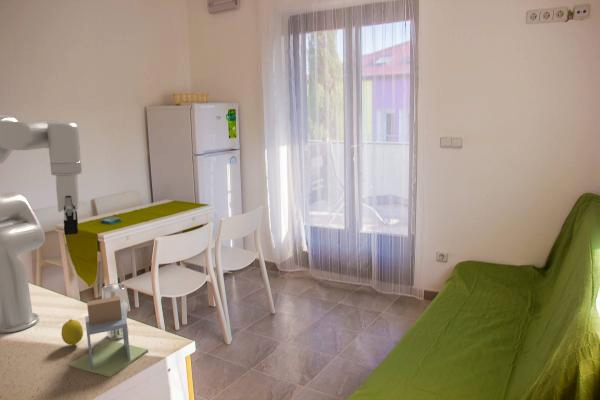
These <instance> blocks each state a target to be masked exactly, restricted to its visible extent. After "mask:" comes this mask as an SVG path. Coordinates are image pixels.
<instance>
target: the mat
mask: <svg viewBox="0 0 600 400" xmlns="http://www.w3.org/2000/svg"><path fill="white" fill-rule="evenodd" d="M129 350H130V361H128V358H127V354H126V350H125V346H124V342H123V343H122V342H120V341H119V342H118V341H114V340H112V339H110V340H108V341H107V342H105V343H104V344H102V345H100V346H98V347H97V348H95V349H93V350H91V351H92V359H93V368H94V369H92V370H91V365H90V356H89V352H87V353H86V354H84V355H82V356H81V357H79V358H78V359H76V360H74V361H72V362H71V363H69V367H73V368H76V369H79V370H82V371H86V372H90V373H93V374H96V373H97V375H101V376H105V377H108V378H111V377H112V376H113V375H116V373H118V372H120V371H121V370H123V369H125V368H126V367H127V366H128V365H130V364H132V363H133V362H135V361H136V360H138V359H139V358H141V357H142V356H143V355H145V354H147V353H149V349H148V348H143V347H140V346H135V345H132V344H129Z"/></svg>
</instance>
